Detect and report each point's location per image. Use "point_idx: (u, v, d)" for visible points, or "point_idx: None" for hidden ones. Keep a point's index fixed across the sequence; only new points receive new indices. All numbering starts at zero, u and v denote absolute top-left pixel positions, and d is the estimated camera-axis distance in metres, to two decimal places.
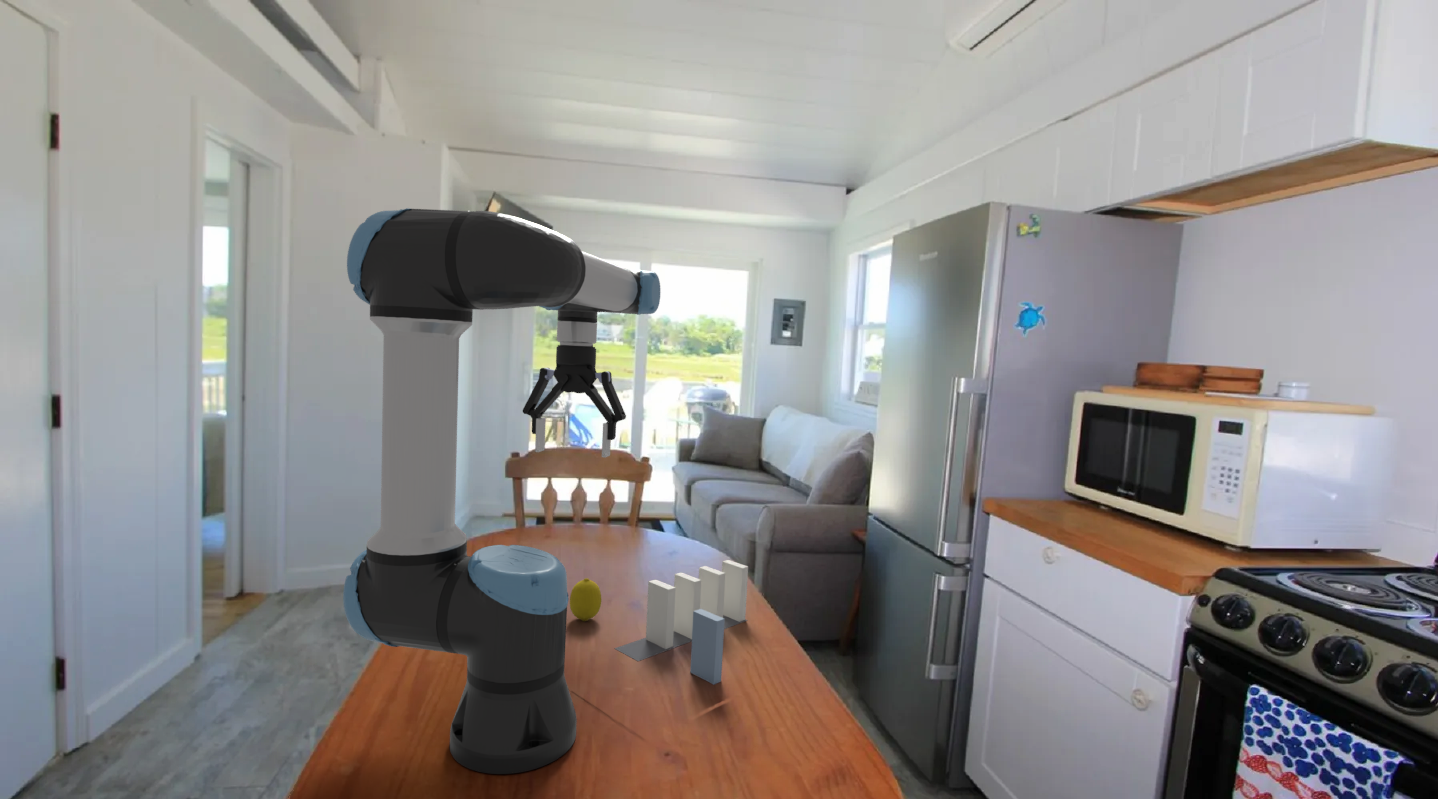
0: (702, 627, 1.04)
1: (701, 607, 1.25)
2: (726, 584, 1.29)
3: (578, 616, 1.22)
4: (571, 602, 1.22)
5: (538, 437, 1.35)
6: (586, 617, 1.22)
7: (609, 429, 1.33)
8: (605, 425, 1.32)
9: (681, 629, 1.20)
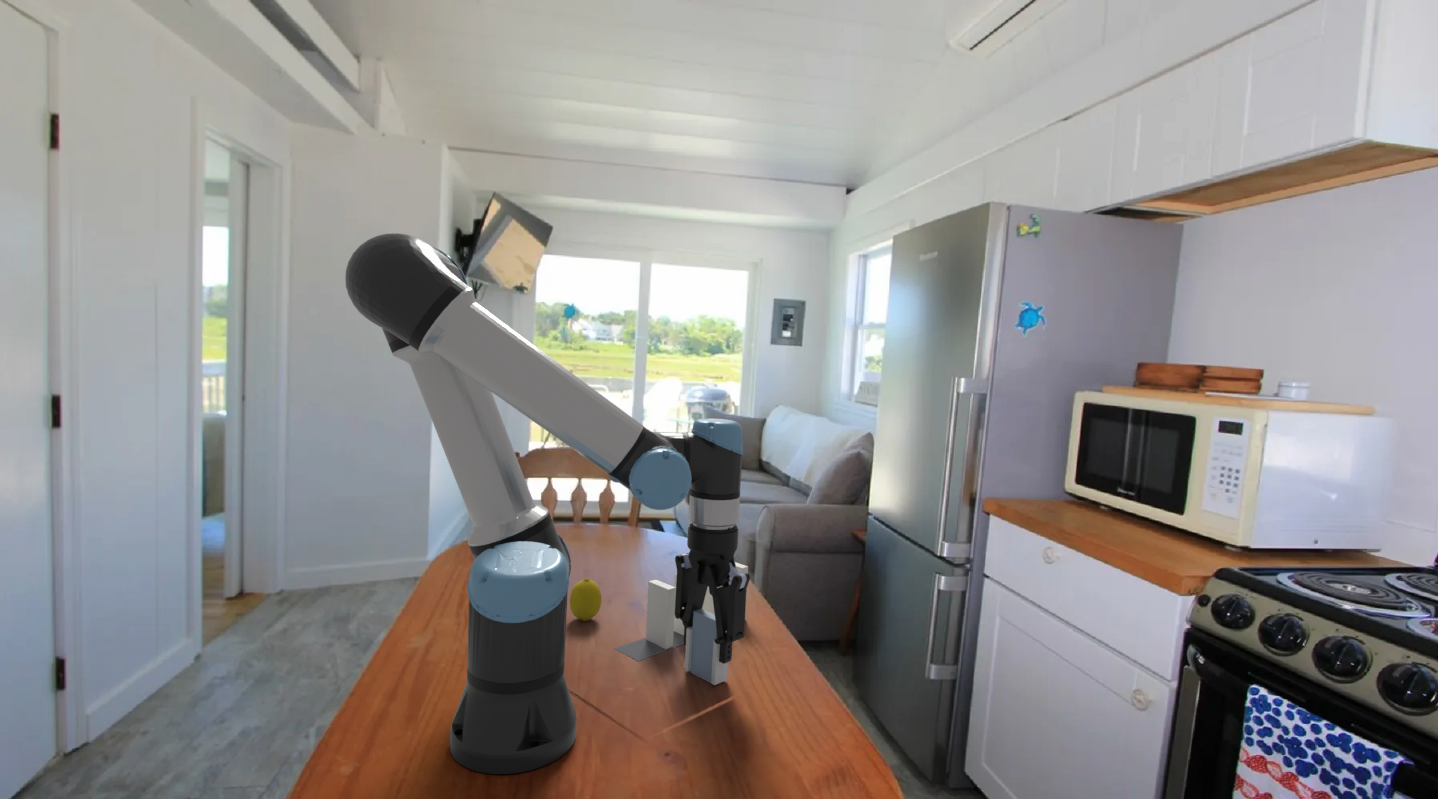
0: (702, 626, 1.04)
1: None
2: None
3: (578, 616, 1.22)
4: (571, 602, 1.22)
5: (688, 652, 1.06)
6: (586, 617, 1.22)
7: (721, 649, 1.02)
8: (715, 643, 1.01)
9: (681, 629, 1.20)
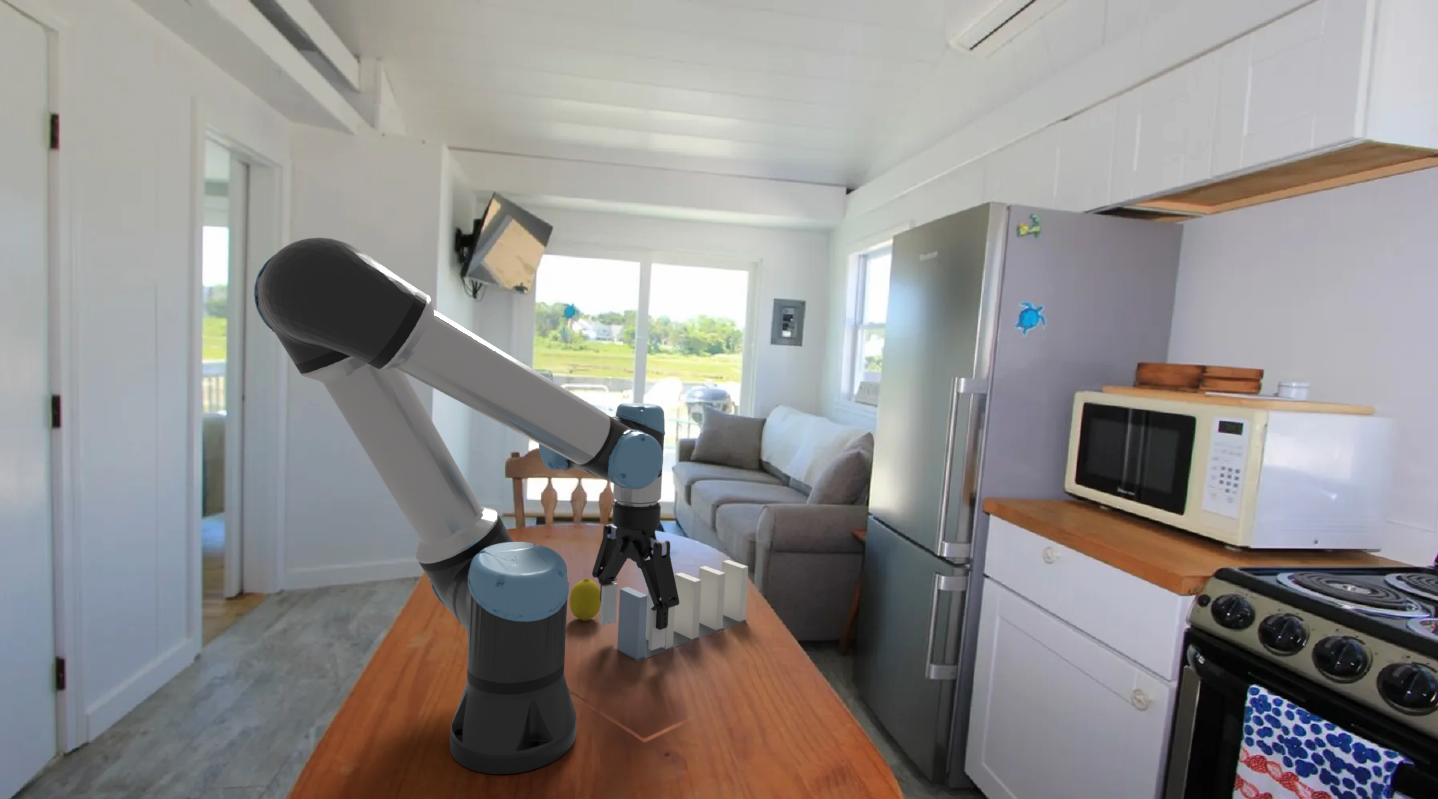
0: (627, 603, 1.11)
1: (701, 607, 1.25)
2: (726, 584, 1.29)
3: (578, 616, 1.22)
4: (571, 602, 1.22)
5: (603, 608, 1.14)
6: (585, 617, 1.22)
7: (657, 616, 1.06)
8: (652, 610, 1.06)
9: (681, 629, 1.20)
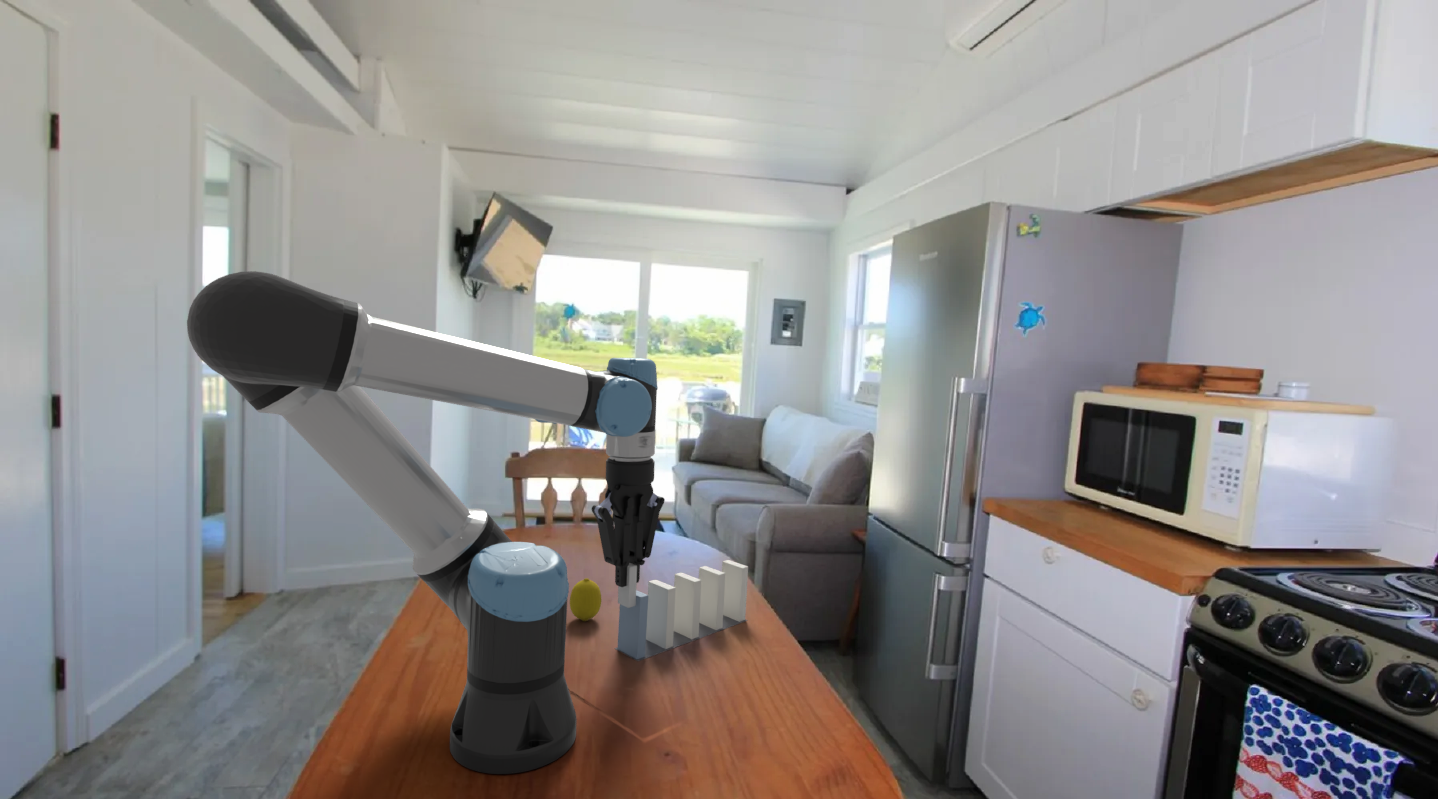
0: None
1: (701, 607, 1.25)
2: (726, 584, 1.29)
3: (578, 616, 1.22)
4: (571, 602, 1.22)
5: None
6: (585, 617, 1.22)
7: None
8: None
9: (681, 629, 1.20)
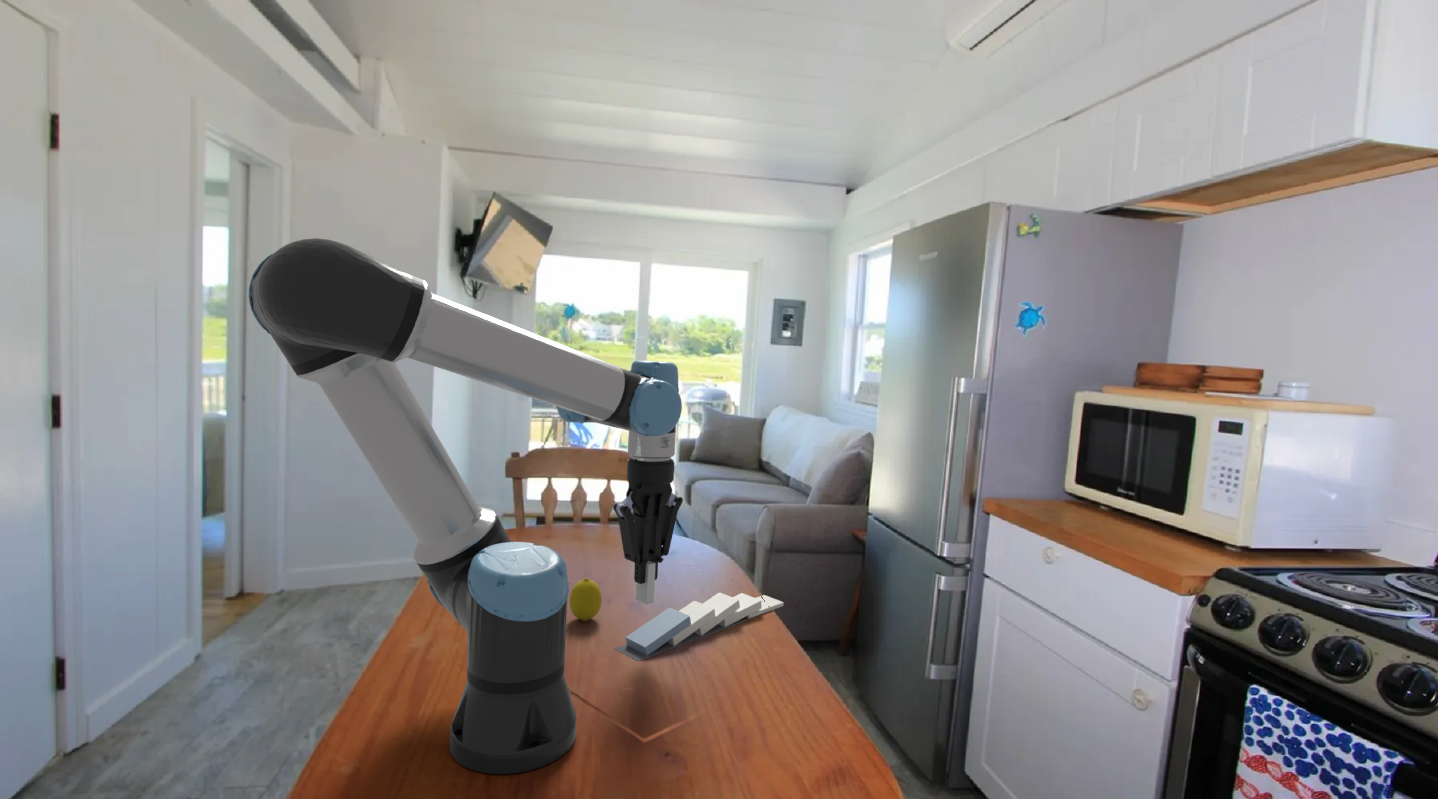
0: (670, 616, 1.18)
1: None
2: None
3: (578, 616, 1.22)
4: (571, 602, 1.22)
5: None
6: (585, 617, 1.22)
7: None
8: None
9: None
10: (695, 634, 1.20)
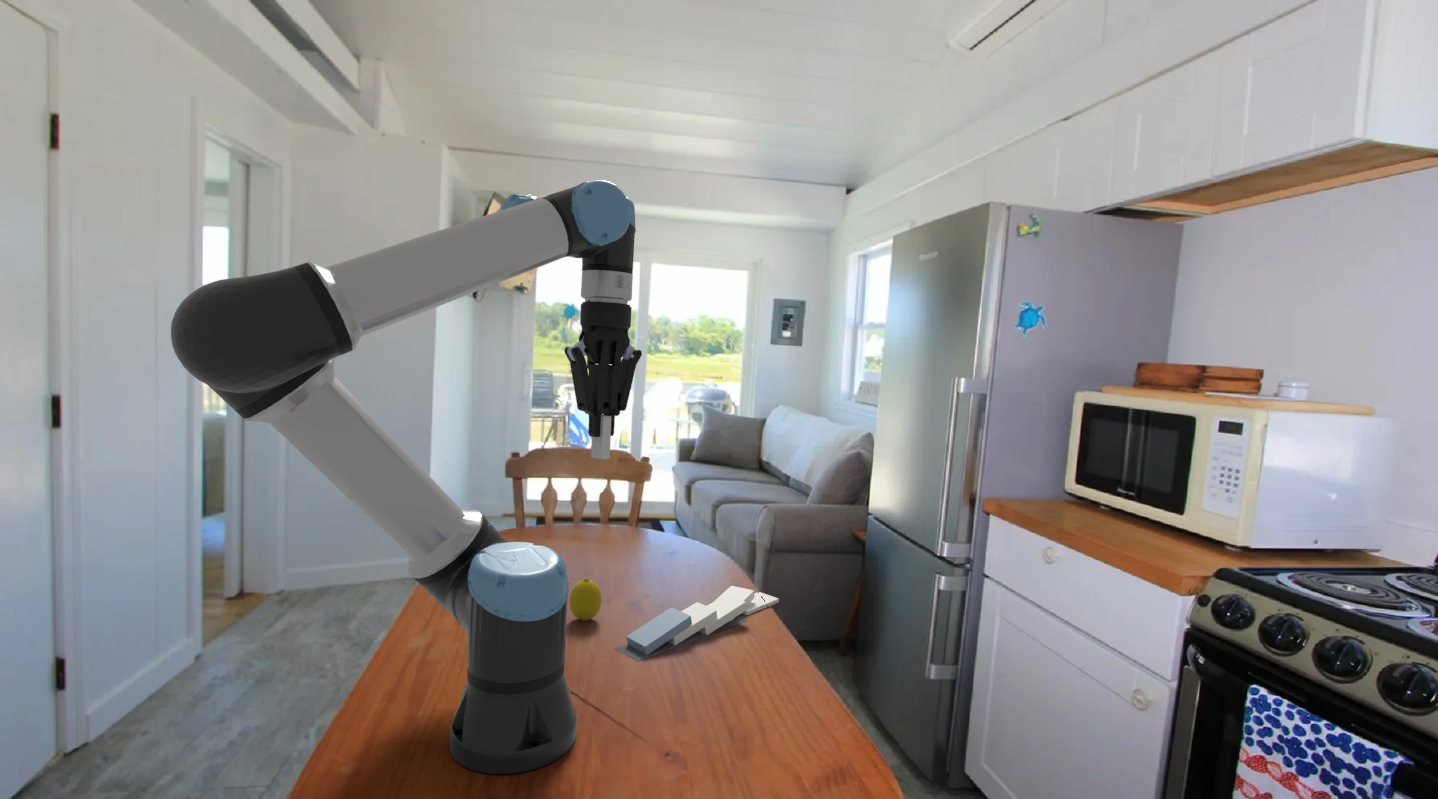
0: (671, 615, 1.18)
1: None
2: None
3: (578, 616, 1.22)
4: (571, 602, 1.22)
5: None
6: (585, 617, 1.22)
7: None
8: None
9: None
10: (695, 634, 1.20)
